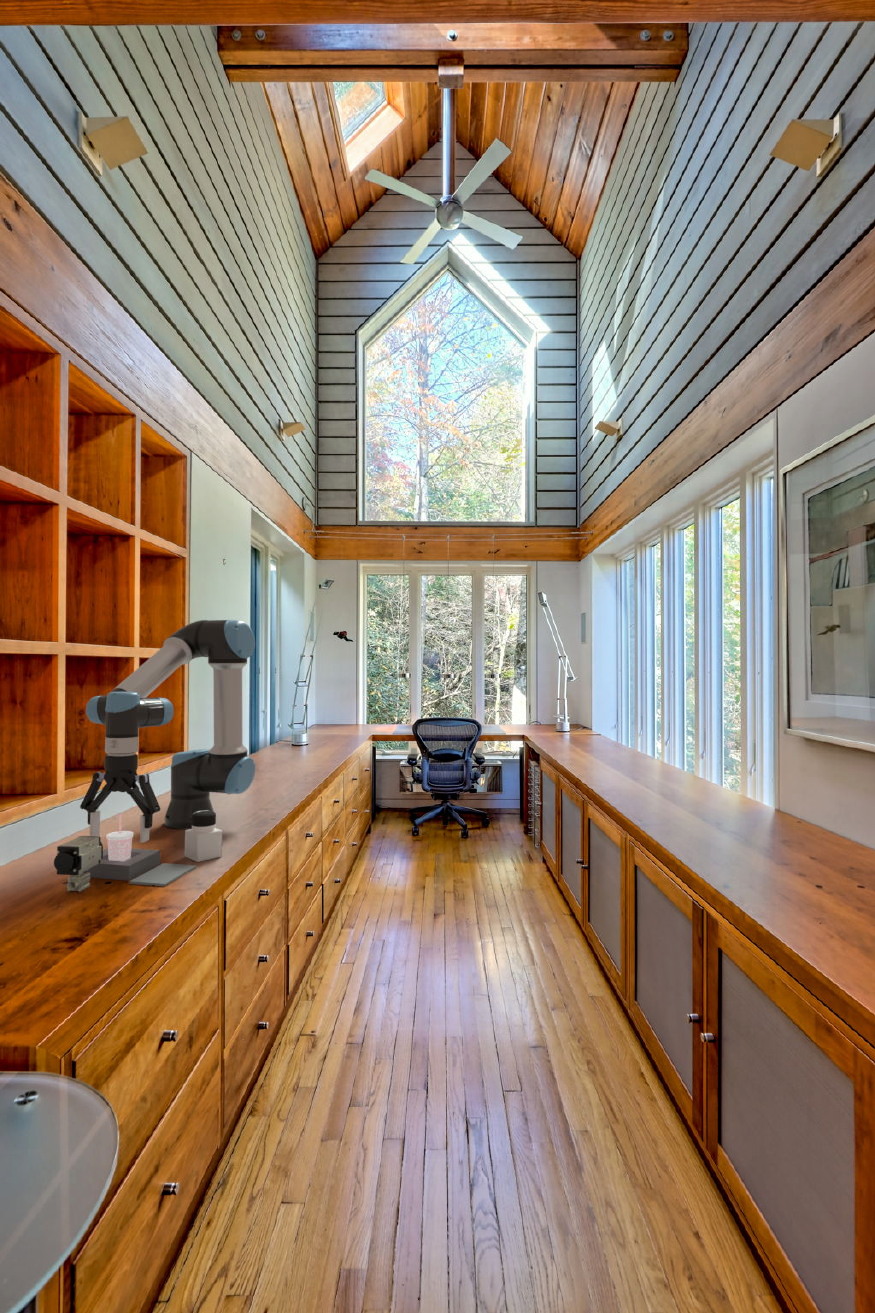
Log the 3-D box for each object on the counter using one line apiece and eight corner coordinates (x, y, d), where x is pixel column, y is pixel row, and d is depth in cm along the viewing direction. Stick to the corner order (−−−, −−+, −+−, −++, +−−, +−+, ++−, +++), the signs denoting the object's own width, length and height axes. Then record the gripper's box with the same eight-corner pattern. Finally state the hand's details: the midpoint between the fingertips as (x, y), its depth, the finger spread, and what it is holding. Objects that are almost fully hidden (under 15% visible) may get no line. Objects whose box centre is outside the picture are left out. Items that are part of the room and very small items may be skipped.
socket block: (110, 860, 173) (110, 846, 173) (160, 864, 171) (160, 850, 171) (75, 876, 160) (76, 861, 160) (128, 880, 158) (129, 865, 158)
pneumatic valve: (52, 898, 146) (53, 843, 146) (84, 880, 158) (85, 829, 158) (76, 899, 145) (77, 844, 146) (106, 881, 157) (107, 830, 157)
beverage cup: (104, 875, 161) (105, 817, 161) (106, 867, 167) (107, 812, 167) (132, 872, 164) (133, 815, 164) (133, 865, 169) (134, 810, 170)
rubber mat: (163, 865, 170) (163, 863, 170) (196, 867, 168) (196, 865, 168) (129, 883, 156) (129, 881, 156) (165, 886, 154) (165, 884, 154)
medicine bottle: (222, 857, 178) (223, 812, 178) (197, 862, 172) (197, 816, 172) (209, 851, 182) (209, 807, 183) (184, 856, 177) (184, 811, 177)
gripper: (65, 753, 164) (63, 840, 164) (159, 758, 160) (156, 846, 160) (86, 750, 171) (84, 832, 171) (176, 754, 167) (174, 838, 167)
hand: (119, 839), depth 165 cm, fingers open, 13 cm apart
